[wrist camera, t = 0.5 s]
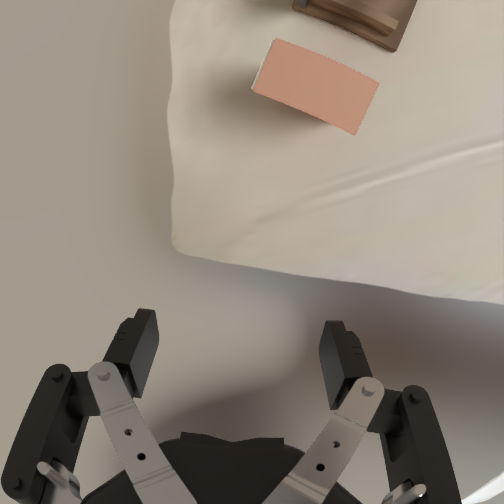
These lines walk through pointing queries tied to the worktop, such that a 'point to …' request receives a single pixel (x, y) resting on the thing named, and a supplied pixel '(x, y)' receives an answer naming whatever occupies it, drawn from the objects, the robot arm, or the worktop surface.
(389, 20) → the rack
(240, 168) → the worktop surface
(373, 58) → the worktop surface
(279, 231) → the worktop surface
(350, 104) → the salmon pink rectangular block
